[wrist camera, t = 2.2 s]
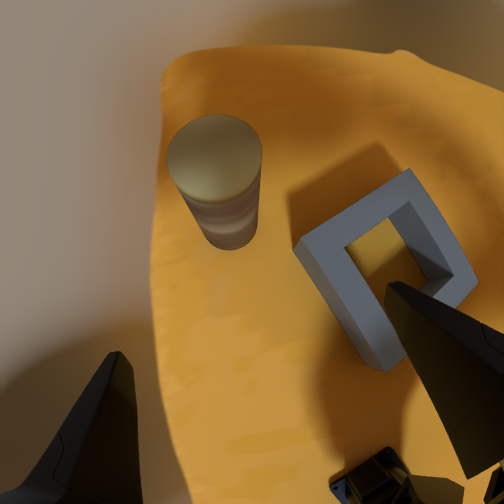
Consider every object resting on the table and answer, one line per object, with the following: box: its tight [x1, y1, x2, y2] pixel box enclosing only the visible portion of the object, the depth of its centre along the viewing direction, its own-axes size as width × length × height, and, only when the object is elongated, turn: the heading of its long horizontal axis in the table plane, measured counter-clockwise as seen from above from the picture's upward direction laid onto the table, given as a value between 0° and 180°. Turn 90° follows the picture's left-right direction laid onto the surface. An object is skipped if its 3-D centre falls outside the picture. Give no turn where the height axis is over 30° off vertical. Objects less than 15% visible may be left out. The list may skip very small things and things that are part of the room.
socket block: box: [293, 168, 479, 373], centre depth 21 cm, size 11×11×4 cm
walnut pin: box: [166, 115, 262, 250], centre depth 18 cm, size 4×4×11 cm
